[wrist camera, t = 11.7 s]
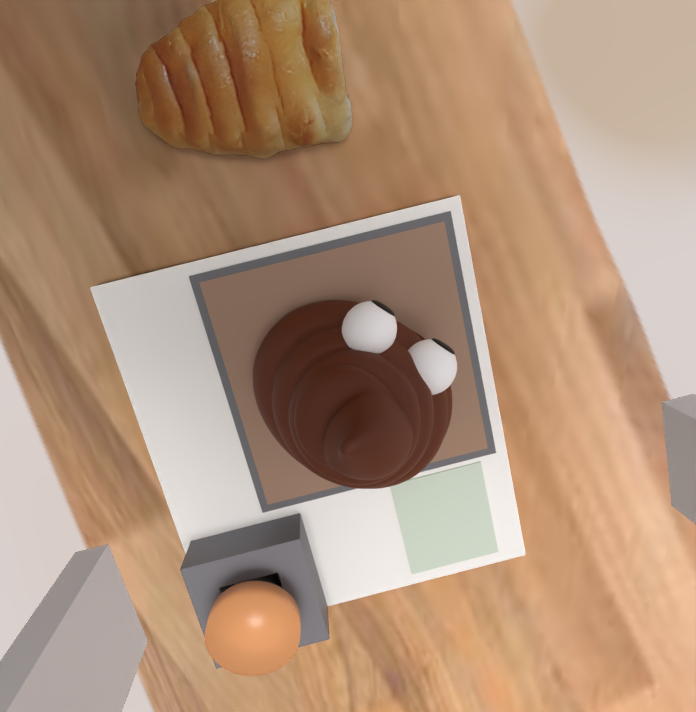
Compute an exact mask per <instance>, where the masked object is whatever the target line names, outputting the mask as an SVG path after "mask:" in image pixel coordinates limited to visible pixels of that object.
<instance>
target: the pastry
mask: <svg viewBox="0 0 696 712" xmlns="http://www.w3.org/2000/svg"><path fill="white" fill-rule="evenodd" d="M135 84H136V91H137V98H138V102H139V109H138V110H139V115H140V119H141V121H142V123H143V124H144V125H145V126H146V127H147V128H148V129H149V130H150V131H152V132H153V133H155V134H156V135H157V136H158V137H160V138H162V139H163V140H164V141H165V142H166V143H168V144H169V145H170V146H172V147H175V148H185V149H195V150H202V151H205V152H209V153H211V154H215V155H235V154H238V155H248V156H252V157H255V158H259V159H264V158H269V157H272V156H273V155H275V154H276V153H278V152H279V151H286V150H293V149H296V148H299V147H307V146H312V145H316V144H320V143H324V142H335V143H338V142H342V141H343V140H344V139H346V138H347V137H348V135H349V133H350V131H351V129H352V112H351V102H350V99H349V97H348V95H347V92H346V88H345V79H344V73H343V61H342V53H341V44H340V39H339V31H338V27H337V23H336V16H335V12H334V9H333V7H332V5H331V4H330V0H217V1H215V2H213V3H211V4H208V5H205V6H202V7H201V8H199V9H198V10H197V11H196V12H195V13H194V14H193V15H192V16H189V17H187V18H185V19H183V20H182V21H181V22H180V24H179V26H178V27H177V28H175V29H174V30H172V32H171V33H170V34H168V35H167V36H165V37H163V38H162V39H160V40H159V41H158V42H155V43H153V44H151V45H150V46H149V47H148V49H147V50H146V51H145V53H144V54H143V55H142V57H141V60H140V64H139V68H138V71H137V73H136V83H135Z"/></svg>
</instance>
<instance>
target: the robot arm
mask: <svg viewBox="0 0 696 712" xmlns="http://www.w3.org/2000/svg"><path fill="white" fill-rule="evenodd" d="M662 409H663V419H664V430H665V440H666V451H667V462H668V472H669V483H670V493H671V504H672V506H673V507H674V508H676V509H677V510H678V511H679V512H681V513H682V514H683V515H684V516H686V517H687V518H688V519H690V520H691V521H692V522H693V523H695V524H696V395H695V394H691V395H687V396H683V397H679V398H676V399H672V400H668V401H664V402H662ZM147 642H148V641H147V638H146V636H145V633H144V631H143V628H142V626H141V624H140V621H139V619H138V616H137V614H136V611H135V609H134V606H133V604H132V601H131V599H130V596H129V594H128V592H127V589H126V587H125V584H124V582H123V579H122V577H121V574H120V572H119V569H118V567H117V565H116V562H115V560H114V557H113V555H112V552H111V550H110V547H109V545H108V544H106V545H103V546H99V547H95V548H91V549H87V550H83V551H79V552H75V554H74V555H73V557H72V558H71V560H70V561H69V563H68V564H67V565H66V567H65V568H64V570H63V571H62V573H61V574H60V575H59V577H58V578H57V580H56V582H55V583H54V584H53V586H52V587H51V588H50V590H49V591H48V593H47V594H46V596H45V597H44V599H43V600H42V602H41V603H40V604H39V606H38V607H37V609H36V610H35V612H34V613H33V615H32V616H31V617H30V619H29V620H28V622H27V623H26V625H25V626H24V628H23V629H22V630H21V632H20V634H19V635H18V636H17V638H16V639H15V641H14V642H13V644H12V645H11V647H10V648H9V649H8V651H7V653H6V654H5V655H4V657H3V658H2V660H1V661H0V712H122V709H123V707H124V704H125V701H126V698H127V696H128V693H129V691H130V687H131V685H132V682H133V680H134V677H135V674H136V672H137V669H138V666H139V664H140V661H141V658H142V656H143V653H144V650H145V648H146V645H147Z"/></svg>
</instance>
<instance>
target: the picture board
mask: <svg viewBox="0 0 696 712" xmlns="http://www.w3.org/2000/svg"><path fill="white" fill-rule="evenodd" d="M90 290H91V292H92V295H93V298H94V301H95V303H96V306H97V309H98V312H99V315H100V317H101V320H102V323H103V326H104V328H105V331H106V334H107V337H108V340H109V342H110V345H111V348H112V351H113V354H114V356H115V359H116V362H117V365H118V367H119V370H120V373H121V376H122V379H123V381H124V384H125V387H126V390H127V393H128V395H129V398H130V401H131V404H132V406H133V409H134V412H135V415H136V418H137V420H138V423H139V426H140V429H141V432H142V434H143V437H144V440H145V443H146V445H147V448H148V451H149V454H150V457H151V459H152V462H153V465H154V468H155V470H156V473H157V476H158V479H159V482H160V484H161V487H162V490H163V493H164V496H165V498H166V501H167V504H168V507H169V509H170V512H171V515H172V518H173V521H174V523H175V526H176V529H177V532H178V535H179V537H180V540H181V543H182V546H183V548H184V551H185V554H186V555H185V558H184V561H183V564H182V566H181V569H180V571H181V573H182V576H183V579H184V582H185V584H186V587H187V590H188V593H189V595H190V598H191V601H192V604H193V606H194V609H195V612H196V614H197V617H198V620H199V623H200V625H201V628H202V631H203V634H204V636H205V629H206V625H207V621H208V617H209V613H210V610H211V607H212V605H213V603H214V602H215V600H216V599H217V597H218V596H219V595H220V594H221V593H223V592H224V591H225V590H227V589H228V588H230V587H232V586H234V585H236V584H237V583H240V582H244V581H247V580H251V579H255V578H259V577H263V576H267V575H271V574H276V575H277V576H278V577H279V579H280V581H281V584H282V588H283V589H284V590H286V591H287V592H288V593H289V594H290V595H291V596H292V597H293V598H294V600H295V601H296V603H297V605H298V607H299V610H300V616H301V635H300V642H299V646H298V647H301V646H305V645H309V644H313V643H316V642H320V641H324V640H328V639H329V621H328V606H331V605H334V604H338V603H342V602H346V601H350V600H354V599H358V598H361V597H365V596H369V595H373V594H377V593H381V592H384V591H388V590H392V589H396V588H400V587H404V586H408V585H411V584H415V583H419V582H423V581H427V580H431V579H434V578H438V577H442V576H446V575H450V574H454V573H458V572H461V571H465V570H469V569H473V568H477V567H481V566H484V565H488V564H492V563H496V562H500V561H504V560H507V559H511V558H515V557H519V556H523V555H526V554H525V548H524V543H523V537H522V532H521V526H520V521H519V516H518V510H517V505H516V499H515V494H514V488H513V483H512V477H511V472H510V466H509V461H508V455H507V450H506V444H505V439H504V433H503V428H502V422H501V417H500V411H499V406H498V401H497V395H496V390H495V384H494V379H493V373H492V368H491V362H490V357H489V351H488V346H487V340H486V335H485V329H484V324H483V318H482V313H481V307H480V302H479V296H478V291H477V285H476V280H475V275H474V269H473V264H472V258H471V253H470V247H469V242H468V236H467V231H466V225H465V220H464V214H463V209H462V203H461V198H460V195H458V196H454V197H450V198H446V199H442V200H438V201H434V202H430V203H426V204H422V205H418V206H414V207H410V208H406V209H402V210H398V211H394V212H390V213H385V214H381V215H377V216H373V217H369V218H365V219H361V220H357V221H353V222H349V223H345V224H341V225H337V226H333V227H329V228H325V229H321V230H317V231H313V232H309V233H305V234H301V235H297V236H293V237H289V238H285V239H281V240H277V241H273V242H269V243H265V244H261V245H257V246H253V247H249V248H245V249H241V250H237V251H233V252H229V253H225V254H221V255H217V256H213V257H209V258H205V259H201V260H197V261H193V262H189V263H185V264H181V265H177V266H173V267H169V268H165V269H161V270H157V271H153V272H149V273H145V274H141V275H137V276H133V277H129V278H125V279H121V280H117V281H113V282H109V283H105V284H101V285H97V286H93V287H90ZM325 300H347V301H354V302H359V303H362V302H366V301H371V300H376V301H379V302H381V303H383V304H384V305H386V306H387V307H389V308H390V309H391V310H392V311H393V312H394V314H395V319H396V321H398V322H400V323H402V324H403V325H405V326H406V327H408V328H409V329H411V330H412V331H414V332H416V333H418V334H419V335H421V336H422V337H423V338H425V339H432V338H435V339H438V340H440V341H442V342H444V343H445V344H447V345H448V346H449V347H451V348H452V349H453V351H454V352H455V357H456V361H457V372H456V376H455V378H454V380H453V382H452V383H451V390H452V415H451V420H450V424H449V427H448V430H447V433H446V435H445V437H444V439H443V442H442V444H441V446H440V448H439V450H438V452H437V454H436V455H435V457H434V458H433V460H432V461H431V462H430V463H429V464H428V465H427V466H426V467H425V468H424V469H423V470H422V471H421V472H420V473H418V474H417V475H416V476H414V477H413V478H411V479H409V480H407V481H405V482H403V483H400V484H398V485H394V486H391V487H386V488H378V489H356V488H349V487H345V486H341V485H338V484H335V483H332V482H330V481H328V480H325V479H323V478H321V477H320V476H318V475H316V474H315V473H313V472H312V471H310V470H309V469H307V468H306V467H305V466H303V465H302V464H301V463H299V462H298V461H297V460H295V459H294V458H293V457H292V456H291V455H290V454H289V453H288V452H287V451H286V450H285V449H284V448H283V447H282V446H281V445H280V444H279V443H278V442H277V440H276V439H275V438H274V436H273V435H272V434H271V432H270V431H269V429H268V427H267V426H266V424H265V422H264V420H263V418H262V416H261V414H260V411H259V409H258V406H257V403H256V399H255V395H254V389H253V368H254V362H255V358H256V355H257V352H258V349H259V347H260V345H261V343H262V341H263V339H264V338H265V336H266V335H267V333H268V332H269V331H270V329H271V328H272V327H273V326H274V325H275V324H276V323H277V322H278V321H279V320H280V319H282V318H283V317H284V316H286V315H287V314H288V313H290V312H292V311H294V310H295V309H297V308H299V307H302V306H304V305H307V304H310V303H314V302H319V301H325ZM213 661H214V659H213ZM214 664H215V667H216V669H217V668H221V666H220V665H219V664H218V663H216V662H215V661H214Z"/></svg>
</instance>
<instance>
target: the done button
mask: <svg viewBox="0 0 696 712" xmlns="http://www.w3.org/2000/svg"><path fill="white" fill-rule="evenodd" d="M300 635H301V616H300V610H299V607H298V605H297V603H296V601H295V600H294V598H293V597H292V596H291V595H290V594H289V593H288V592H287V591H286V590H284V589H283V588H282V584H281V581H280V579H279V577H278V576H277V575H276V574H271V575H267V576H263V577H259V578H255V579H251V580H247V581H244V582H240V583H237V584H236V585H234V586H232V587H230V588H228V589H227V590H225V591H224V592H223V593H221V594H220V595H219V596H218V597H217V599H216V600H215V602H214V603H213V605H212V607H211V610H210V613H209V617H208V621H207V625H206V629H205V644H206V647H207V650H208V652H209V654H210V655H211V657H212V658H213V659H214V661H215V662H216V663H218V664H219V665H220V666H221V667H223V668H224V669H226V670H228V671H230V672H233V673H235V674H239V675H246V676H257V675H264V674H268V673H271V672H273V671H275V670H277V669H279V668H281V667H282V666H284V665H285V664H286V663H287V662H288V661H289V660H290V659H291V658H292V657H293V656H294V654H295V652H296V651H297V648H298V646H299V642H300Z"/></svg>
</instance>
